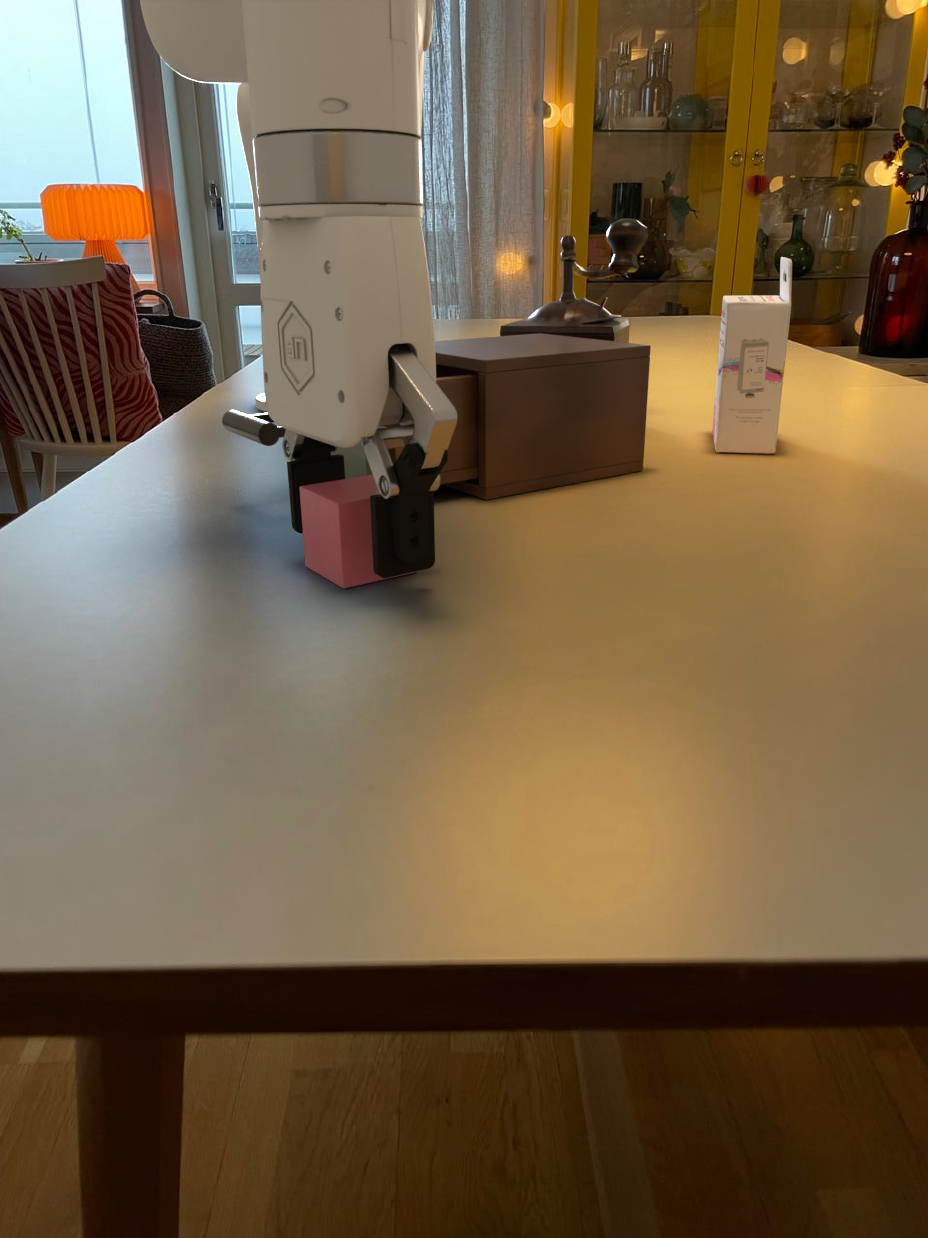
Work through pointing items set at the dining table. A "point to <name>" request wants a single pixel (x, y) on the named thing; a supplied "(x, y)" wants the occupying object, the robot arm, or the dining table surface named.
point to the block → (339, 530)
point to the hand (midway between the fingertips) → (359, 547)
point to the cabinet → (553, 409)
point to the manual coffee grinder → (582, 313)
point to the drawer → (461, 449)
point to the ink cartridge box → (752, 369)
